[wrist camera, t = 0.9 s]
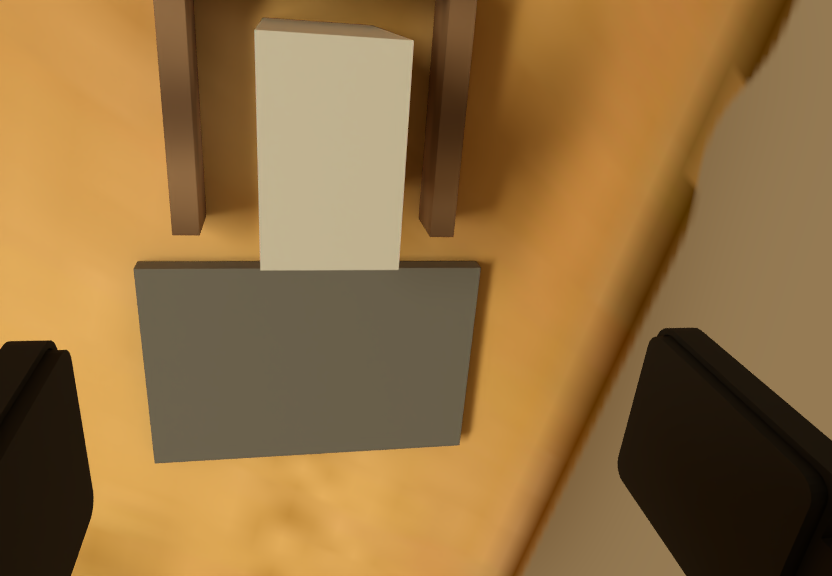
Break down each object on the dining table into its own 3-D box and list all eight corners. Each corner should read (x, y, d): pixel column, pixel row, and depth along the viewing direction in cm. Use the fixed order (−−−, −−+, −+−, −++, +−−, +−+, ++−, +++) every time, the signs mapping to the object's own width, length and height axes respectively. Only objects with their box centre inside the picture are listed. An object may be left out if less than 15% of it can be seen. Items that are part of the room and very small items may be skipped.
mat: (137, 261, 33) (133, 269, 32) (475, 261, 37) (480, 267, 36) (157, 452, 38) (154, 463, 37) (455, 435, 42) (459, 445, 41)
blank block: (262, 17, 30) (254, 29, 20) (371, 25, 31) (413, 40, 21) (266, 187, 33) (260, 270, 23) (364, 189, 34) (398, 269, 24)
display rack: (160, -58, 28) (148, -63, 25) (463, -31, 31) (480, -33, 28) (181, 215, 33) (172, 235, 30) (440, 218, 35) (453, 237, 33)
